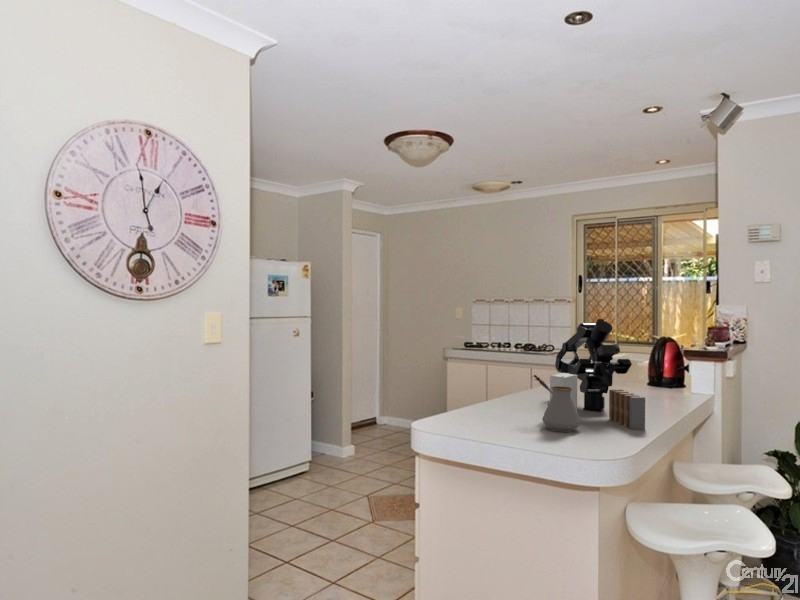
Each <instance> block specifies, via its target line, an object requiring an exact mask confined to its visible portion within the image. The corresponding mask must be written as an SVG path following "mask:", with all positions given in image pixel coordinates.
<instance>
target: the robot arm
mask: <svg viewBox="0 0 800 600" xmlns="http://www.w3.org/2000/svg"><path fill="white" fill-rule="evenodd" d="M612 331H613V326H612V324H610V323H609V322H607V321H605V320H604V319H603V318H597V320H596V322H595V323H594V322H592V323H591V322H587V323H586V322H582V323H579V325H578V326H577V328H576V332H575V333H574V334H572V336H571V337H570V338H569V339H567V340H566V341H565V342H563V343H562V345H561V349H560V350H559V352H558V353H557V354H556V358H555V364H554V366H555V369H556V371H557V373H559V374H561V373H567V374H574V375H578V376H577V380H580V381H581V383H580V384H579V392H580V393H583V399H584V400H583V401H584V402H583V404H584V405H583V408H582V409H583V410H584V411H586V410H587V411H597V412H602V411H603V410H604V409H605V406H606V405H605V404H606V403H605V402H606V401H605V400H606V399H605V396H604V394H608V392H609V387H612V386H613V376H614V373H616V374H617V375H625V374H627V373H628V372H629V370H630V368H631V367H632V365H633V363H632V361H631V360H630V358H618V359H617V360H616V361H614V362H611V361H613V360H614V358H613V356H615V355H618V354H619V353H620V352H621V350H620V349H621V348H620V346H619V344H617V343H613V344H604V342H607V340H608V338H609V336H610V334H611V332H612ZM581 346H584V349H585V350H586V349H587V351H588V354H589V357H588V358H579V356H578V353H577V351H578V348H580V347H581ZM567 353H573V355H574V357H573V358H563V357H564V356H565V355H566V354H567Z"/></svg>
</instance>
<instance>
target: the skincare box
mask: <svg viewBox="0 0 800 600" xmlns="http://www.w3.org/2000/svg"><path fill="white" fill-rule="evenodd" d="M577 376H578V375H574V374H569V373H556V374H551V375H550V376H549V388H550V389H551V387H555V386H561V387H571V388H572V390H571V393H570V396H571V398H572V401H573V403H574V406H575V408H576V410H577V411H578V378H577ZM551 390H552V389H551ZM552 396H553V395H552V394H551V393H550V392H549V401H550V400H551V398H552Z"/></svg>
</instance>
